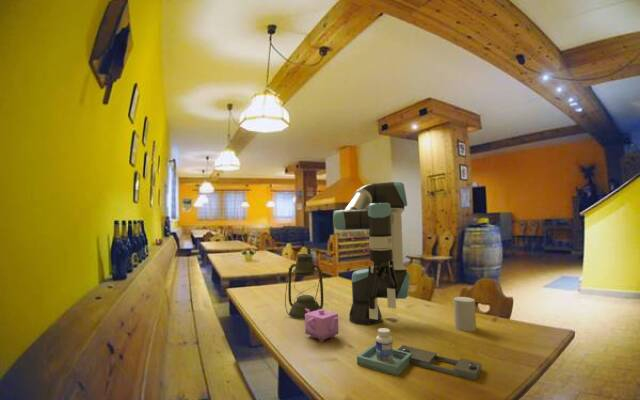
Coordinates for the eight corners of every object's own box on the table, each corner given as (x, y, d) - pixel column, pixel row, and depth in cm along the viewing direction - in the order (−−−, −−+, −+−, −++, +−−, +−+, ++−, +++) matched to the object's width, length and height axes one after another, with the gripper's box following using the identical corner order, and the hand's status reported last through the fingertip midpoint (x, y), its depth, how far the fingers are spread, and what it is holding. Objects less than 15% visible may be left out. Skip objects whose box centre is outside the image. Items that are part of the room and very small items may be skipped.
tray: (357, 364, 104) (356, 356, 104) (374, 351, 114) (373, 344, 114) (397, 376, 96) (397, 367, 96) (412, 361, 105) (411, 353, 106)
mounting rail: (393, 359, 107) (392, 351, 107) (402, 350, 114) (402, 343, 114) (476, 380, 92) (475, 371, 92) (481, 369, 98) (481, 361, 99)
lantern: (331, 311, 164) (329, 252, 166) (315, 321, 149) (313, 256, 151) (297, 307, 174) (296, 251, 176) (278, 316, 158) (277, 255, 160)
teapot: (341, 331, 135) (340, 305, 136) (340, 343, 122) (339, 314, 122) (305, 331, 136) (304, 305, 137) (301, 343, 123) (300, 314, 123)
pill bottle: (374, 357, 107) (373, 327, 108) (390, 356, 108) (389, 326, 108) (378, 364, 102) (377, 333, 102) (395, 363, 102) (394, 332, 103)
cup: (478, 331, 131) (477, 301, 131) (457, 330, 132) (456, 301, 133) (473, 325, 139) (471, 297, 139) (453, 324, 140) (452, 296, 141)
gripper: (373, 254, 95) (376, 326, 94) (405, 245, 115) (408, 305, 114) (351, 252, 99) (354, 321, 98) (386, 244, 119) (388, 302, 118)
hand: (383, 312), depth 106 cm, fingers open, 13 cm apart
